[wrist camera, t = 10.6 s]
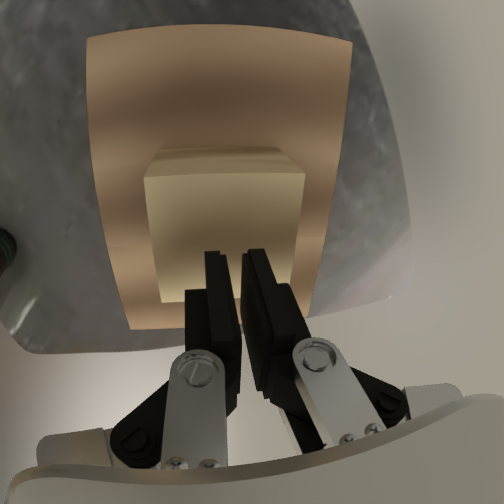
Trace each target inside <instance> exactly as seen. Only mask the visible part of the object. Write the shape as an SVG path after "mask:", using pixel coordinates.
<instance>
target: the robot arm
mask: <svg viewBox="0 0 504 504" xmlns="http://www.w3.org/2000/svg"><path fill="white" fill-rule="evenodd" d="M204 258H205V278H206V288H204V289H186V290H185V352H184V353H182V354H181V355H180V356H178V357H177V358H176V359H175V360H174V362H173V363H172V366H171V370H170V377H169V380H168V381H167V382H166V383H165V384H164V385H162V386H161V387H160V388H159V389H158V390H157V391H155V392H154V393H153V394H152V395H151V396H150V397H148V398H147V399H146V400H145V401H144V402H143V403H141V404H140V405H139V406H138V407H137V408H136V409H134V410H133V411H132V412H131V413H130V414H128V415H127V416H126V417H125V418H123V419H122V420H121V421H120V422H119V423H117V425H116V426H115V427H114V428H111V429H106V430H104V429H103V428H96V429H91V430H84V431H78V432H71V433H63V434H55V435H49V436H45V437H44V438H42V439H41V440H40V441H39V443H38V445H37V450H36V451H37V452H36V455H37V462H38V466H35V467H31V468H28V469H25V470H23V471H21V472H19V473H17V474H16V475H15V476H14V477H13V478H12V480H11V481H10V483H9V486H8V489H7V492H6V496H5V502H4V504H504V397H502V396H499V395H495V394H473V395H469V396H465V397H463V396H462V394H461V392H460V390H459V389H458V388H457V387H456V386H454V385H452V384H448V383H444V384H435V385H426V386H425V385H424V386H412V387H404V389H403V390H400V389H398V388H396V387H395V386H393V385H390V384H388V383H386V382H384V381H381V380H379V379H377V378H374V377H372V376H370V375H368V374H366V373H363V372H361V371H359V370H357V369H355V368H352V367H350V366H349V365H348V364H347V362H346V360H345V359H344V357H343V355H342V354H341V352H340V350H339V349H338V348H337V347H336V346H335V345H334V344H333V343H331V342H330V341H328V340H325V339H323V338H316V337H313V338H312V337H311V334H310V332H309V330H308V327H307V325H306V323H305V320H304V318H303V315H302V313H301V310H300V308H299V306H298V303H297V301H296V299H295V296H294V294H293V291H292V289H291V287H290V285H289V284H288V283H277V281H276V278H275V275H274V273H273V270H272V268H271V265H270V262H269V260H268V257H267V254H266V252H265V249H264V248H258V249H248V252H247V253H243V254H242V269H241V294H240V315H241V321H242V326H243V330H244V335H245V340H246V344H247V349H248V353H249V359H250V363H251V368H252V372H253V377H254V381H255V386H256V389H257V391H263V396H264V399H268V398H269V399H270V402H271V403H272V404H274V405H276V406H278V408H279V412H280V415H281V417H282V420H283V422H284V425H285V427H286V429H287V432H288V434H289V437H290V439H291V441H292V443H293V446H294V448H295V451H296V453H297V455H298V456H293V457H288V458H283V459H278V460H272V461H266V462H260V463H253V464H245V465H237V466H228V452H227V417H228V416H229V415H230V413H231V412H232V411H233V410H234V409H235V408H236V407H237V394H239V393H240V377H241V356H242V336H241V329H240V324H239V319H238V314H237V309H236V304H235V299H234V294H233V289H232V283H231V278H230V273H229V267H228V262H227V257H226V254H221V255H220V250H219V251H204Z"/></svg>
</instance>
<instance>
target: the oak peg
mask: <svg viewBox="0 0 504 504" xmlns="http://www.w3.org/2000/svg"><path fill="white" fill-rule="evenodd" d="M304 182H305V173H304V172H303V171H302V170H301V169H300V168H299V167H298V166H297V165H296V164H295V163H294V162H293V161H292V160H291V159H290V158H289V157H287V156H286V155H285V154H284V153H283V152H282V151H281V150H280V149H279V148H277V147H204V148H180V149H164V150H157V152H156V154H155V156H154V158H153V160H152V162H151V164H150V166H149V168H148V170H147V172H146V174H145V176H144V187H145V197H146V206H147V214H148V222H149V230H150V237H151V244H152V250H153V257H154V263H155V269H156V275H157V280H158V286H159V291H160V296H161V302H162V303H167V302H185V290H186V289H204V288H206V278H205V258H204V251H219V250H220V255H221V254H226V257H227V262H228V267H229V273H230V278H231V283H232V289H233V294H234V298H240V294H241V269H242V254H243V253H247V252H248V249H258V248H264V249H265V252H266V254H267V257H268V260H269V262H270V265H271V268H272V270H273V273H274V275H275V278H276V281H277V283H288V284H290V278H291V272H292V265H293V259H294V253H295V246H296V239H297V233H298V226H299V219H300V212H301V204H302V197H303V190H304Z"/></svg>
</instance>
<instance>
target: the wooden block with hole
mask: <svg viewBox="0 0 504 504" xmlns="http://www.w3.org/2000/svg"><path fill="white" fill-rule="evenodd" d="M352 43H353V42H349V41H345V40H341V39H337V38H332V37H327V36H323V35H318V34H312V33H307V32H301V31H294V30H287V29H279V28H271V27H261V26H248V25H228V24H191V25H171V26H159V27H149V28H140V29H133V30H126V31H120V32H114V33H108V34H103V35H98V36H93V37H89V38H87V50H86V93H87V114H88V128H89V139H90V149H91V158H92V166H93V173H94V180H95V187H96V193H97V199H98V205H99V210H100V215H101V221H102V226H103V230H104V235H105V240H106V244H107V248H108V253H109V257H110V261H111V265H112V269H113V272H114V276H115V280H116V283H117V287H118V291H119V294H120V297H121V301H122V304H123V307H124V311H125V314H126V317H127V320H128V323H129V326H130V329H164V328H185V302H167V303H162V302H161V296H160V291H159V286H158V280H157V275H156V269H155V263H154V257H153V250H152V244H151V237H150V230H149V222H148V214H147V206H146V197H145V187H144V176H145V174H146V172H147V170H148V168H149V166H150V164H151V162H152V160H153V158H154V156H155V154H156V152H157V150H164V149H180V148H204V147H277V148H279V149H280V150H281V151H282V152H283V153H284V154H285V155H286V156H287V157H289V158H290V159H291V160H292V161H293V162H294V163H295V164H296V165H297V166H298V167H299V168H300V169H301V170H302V171H303V172H304V173H305V182H304V190H303V197H302V204H301V212H300V219H299V226H298V233H297V239H296V246H295V253H294V259H293V265H292V272H291V278H290V284H289V285H290V287H291V289H292V291H293V294H294V296H295V299H296V301H297V303H298V306H299V308H300V310H301V313H302V315H303V317H307V315H308V311H309V307H310V303H311V298H312V294H313V290H314V286H315V282H316V277H317V273H318V268H319V264H320V259H321V255H322V250H323V245H324V240H325V236H326V231H327V226H328V221H329V215H330V210H331V205H332V199H333V194H334V188H335V182H336V176H337V170H338V164H339V157H340V151H341V144H342V137H343V130H344V122H345V114H346V106H347V97H348V88H349V79H350V68H351V56H352ZM234 299H235V304H236V309H237V314H238V319H239V324H242V321H241V315H240V298H234Z"/></svg>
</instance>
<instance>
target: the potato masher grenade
mask: <svg viewBox="0 0 504 504" xmlns="http://www.w3.org/2000/svg"><path fill="white" fill-rule="evenodd" d="M14 255H15V245H14V242H13V240H12V238H11V237H10V236H9V235H8V234H7V233H5V232H3V231H0V276H1V275H2V273H3V272H4V270H6V269H7V268H8V267H9V266H10V265H11V263H12V261H13V259H14Z"/></svg>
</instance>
